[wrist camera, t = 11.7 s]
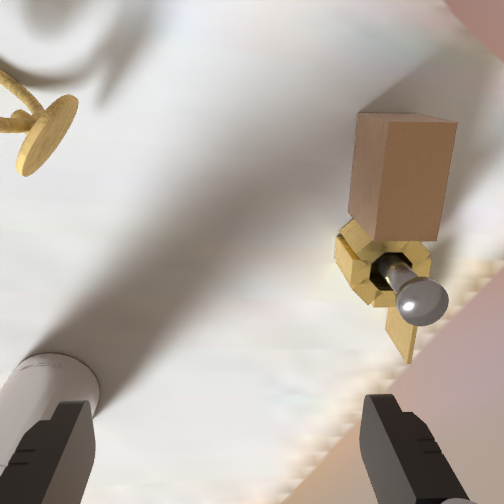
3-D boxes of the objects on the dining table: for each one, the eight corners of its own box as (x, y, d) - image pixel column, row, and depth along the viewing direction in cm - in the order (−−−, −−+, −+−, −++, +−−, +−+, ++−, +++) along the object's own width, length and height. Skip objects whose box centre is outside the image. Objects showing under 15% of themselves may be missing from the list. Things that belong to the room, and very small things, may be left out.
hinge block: (392, 326, 48) (423, 373, 40) (327, 327, 47) (347, 375, 40) (423, 113, 40) (469, 122, 32) (347, 112, 40) (376, 121, 32)
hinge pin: (395, 229, 44) (452, 282, 33) (390, 263, 45) (444, 325, 34) (358, 229, 44) (403, 282, 32) (354, 264, 45) (396, 326, 34)
